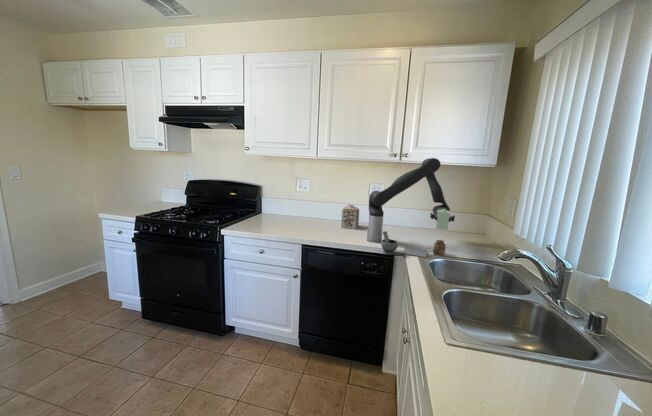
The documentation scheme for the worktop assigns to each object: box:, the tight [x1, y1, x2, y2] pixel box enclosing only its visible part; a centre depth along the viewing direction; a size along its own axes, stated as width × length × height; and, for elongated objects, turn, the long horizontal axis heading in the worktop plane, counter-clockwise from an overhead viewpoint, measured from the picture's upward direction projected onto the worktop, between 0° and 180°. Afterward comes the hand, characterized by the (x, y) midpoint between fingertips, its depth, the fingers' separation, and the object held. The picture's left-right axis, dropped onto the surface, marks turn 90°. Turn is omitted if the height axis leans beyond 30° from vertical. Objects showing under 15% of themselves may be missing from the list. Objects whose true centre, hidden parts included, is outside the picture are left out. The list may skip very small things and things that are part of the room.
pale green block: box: [435, 209, 451, 231], centre depth 157 cm, size 6×6×11 cm
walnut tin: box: [432, 239, 447, 257], centre depth 160 cm, size 6×6×8 cm
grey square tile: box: [402, 246, 428, 259], centre depth 161 cm, size 13×13×1 cm
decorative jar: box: [340, 203, 360, 230], centre depth 215 cm, size 12×12×18 cm
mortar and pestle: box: [380, 230, 399, 255], centre depth 159 cm, size 11×9×12 cm
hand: (442, 219), depth 154 cm, fingers closed on pale green block, 6 cm apart
